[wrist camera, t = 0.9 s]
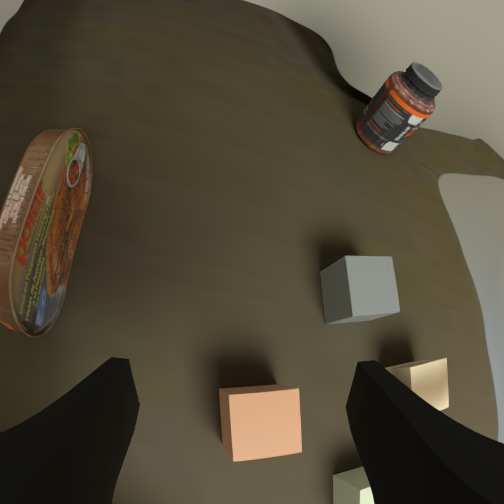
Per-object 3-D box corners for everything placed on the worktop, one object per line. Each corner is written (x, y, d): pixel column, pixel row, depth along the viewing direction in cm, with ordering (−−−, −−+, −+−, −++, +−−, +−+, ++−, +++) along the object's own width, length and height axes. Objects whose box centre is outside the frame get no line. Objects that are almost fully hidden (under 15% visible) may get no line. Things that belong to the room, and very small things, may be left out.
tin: (57, 342, 20) (7, 332, 12) (24, 333, 19) (-34, 317, 12) (101, 169, 25) (84, 104, 18) (70, 166, 25) (47, 102, 17)
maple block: (415, 405, 25) (448, 407, 21) (380, 416, 24) (412, 421, 20) (413, 361, 27) (446, 357, 22) (377, 369, 25) (410, 367, 21)
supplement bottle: (392, 165, 34) (452, 107, 24) (350, 140, 33) (404, 72, 23) (395, 133, 36) (446, 78, 26) (356, 110, 36) (403, 47, 25)
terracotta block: (280, 437, 22) (301, 451, 18) (222, 444, 21) (233, 461, 17) (277, 384, 23) (298, 388, 19) (218, 388, 22) (228, 394, 18)
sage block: (374, 500, 21) (403, 514, 17) (332, 514, 20) (358, 533, 16) (375, 461, 22) (406, 472, 18) (332, 474, 21) (360, 490, 17)
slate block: (368, 320, 27) (400, 311, 23) (324, 324, 26) (352, 316, 22) (362, 272, 28) (391, 256, 24) (319, 272, 27) (345, 255, 23)
